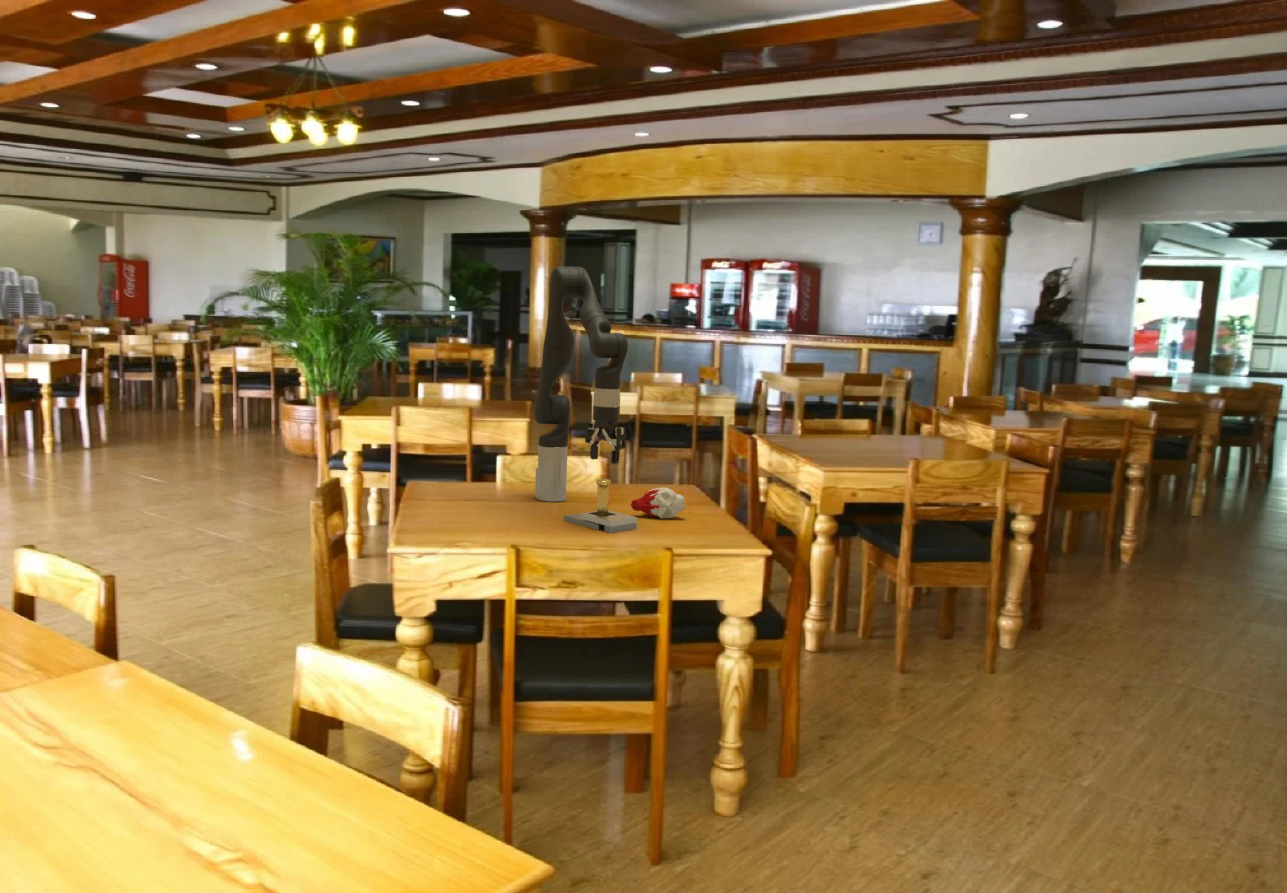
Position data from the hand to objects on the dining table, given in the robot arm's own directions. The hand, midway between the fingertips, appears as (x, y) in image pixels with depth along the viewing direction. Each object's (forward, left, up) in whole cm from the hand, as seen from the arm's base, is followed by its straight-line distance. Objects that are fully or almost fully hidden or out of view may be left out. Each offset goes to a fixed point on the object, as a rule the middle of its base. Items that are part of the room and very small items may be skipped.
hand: (604, 461), depth 304 cm
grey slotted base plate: (0, 0, -18) cm, 18 cm away
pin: (0, 0, -18) cm, 18 cm away
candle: (0, +22, -19) cm, 29 cm away
